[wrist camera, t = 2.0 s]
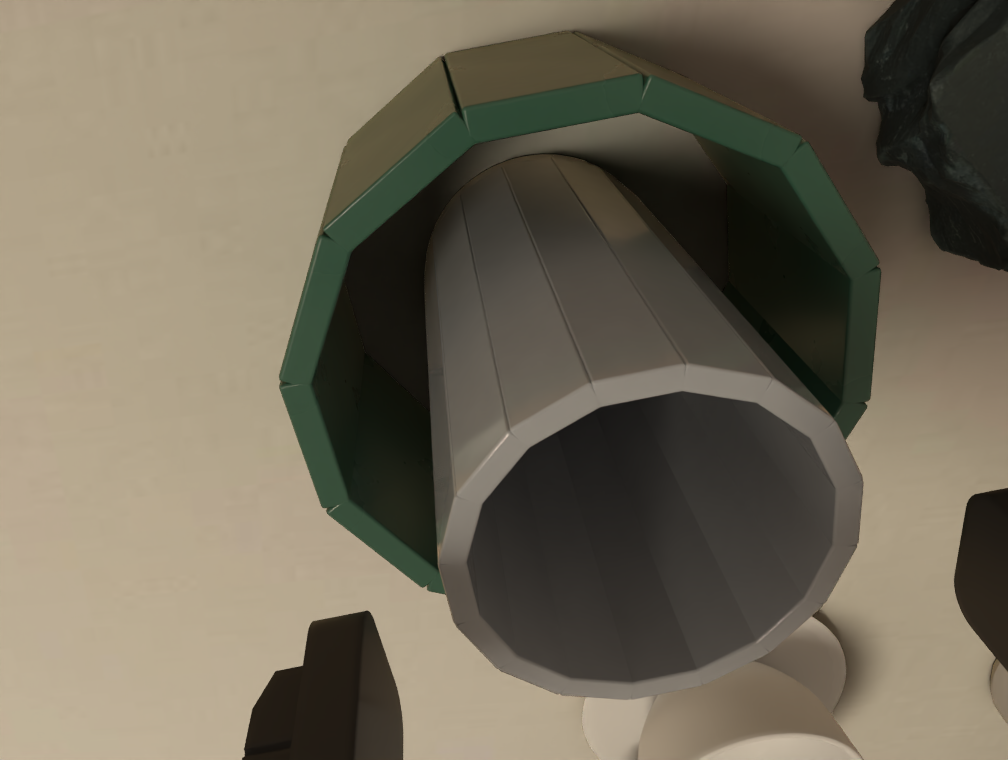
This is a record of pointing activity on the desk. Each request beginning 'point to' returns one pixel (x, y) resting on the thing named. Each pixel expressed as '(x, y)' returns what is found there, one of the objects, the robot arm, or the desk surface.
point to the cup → (1000, 689)
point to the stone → (947, 115)
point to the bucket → (528, 109)
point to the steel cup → (616, 446)
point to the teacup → (736, 711)
